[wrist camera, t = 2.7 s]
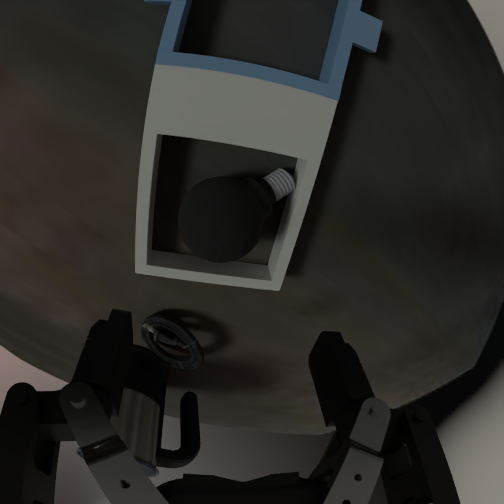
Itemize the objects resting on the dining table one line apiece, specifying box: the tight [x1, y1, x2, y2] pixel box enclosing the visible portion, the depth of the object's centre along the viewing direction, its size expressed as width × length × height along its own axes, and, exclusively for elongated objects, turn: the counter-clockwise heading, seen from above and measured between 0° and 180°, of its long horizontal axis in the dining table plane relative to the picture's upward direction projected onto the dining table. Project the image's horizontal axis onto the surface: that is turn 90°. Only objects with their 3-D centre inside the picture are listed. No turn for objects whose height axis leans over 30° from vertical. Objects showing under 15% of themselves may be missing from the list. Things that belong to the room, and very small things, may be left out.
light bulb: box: [178, 169, 295, 263], centre depth 22 cm, size 6×6×10 cm
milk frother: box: [76, 314, 204, 477], centre depth 27 cm, size 14×16×15 cm
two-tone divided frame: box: [135, 0, 383, 291], centre depth 19 cm, size 17×30×3 cm, turn 168°
